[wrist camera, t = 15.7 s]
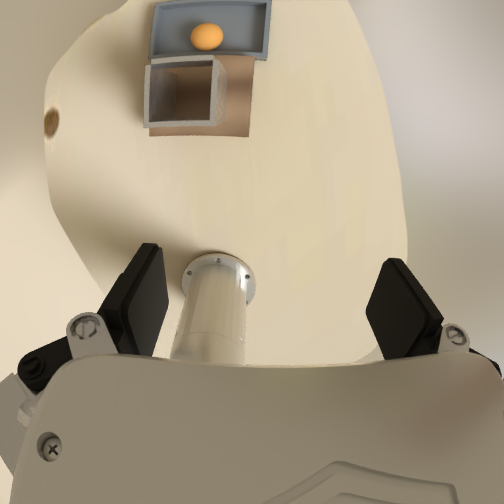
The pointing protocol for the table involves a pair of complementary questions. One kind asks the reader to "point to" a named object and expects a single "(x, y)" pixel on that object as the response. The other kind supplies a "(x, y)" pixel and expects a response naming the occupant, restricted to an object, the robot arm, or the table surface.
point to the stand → (199, 97)
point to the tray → (219, 13)
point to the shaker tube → (165, 86)
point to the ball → (206, 36)
